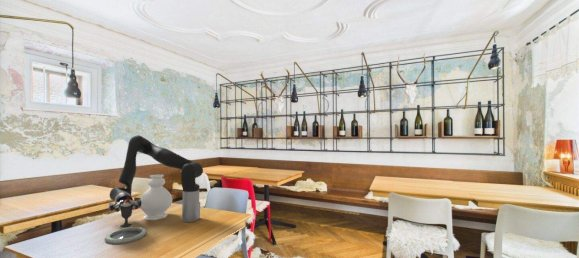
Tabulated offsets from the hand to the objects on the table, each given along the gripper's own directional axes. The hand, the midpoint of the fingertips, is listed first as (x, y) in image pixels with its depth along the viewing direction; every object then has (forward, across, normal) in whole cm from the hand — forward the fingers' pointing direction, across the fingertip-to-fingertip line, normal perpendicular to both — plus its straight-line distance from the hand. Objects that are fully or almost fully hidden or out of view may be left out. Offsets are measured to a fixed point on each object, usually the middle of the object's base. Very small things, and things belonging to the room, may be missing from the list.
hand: (127, 208), depth 119 cm
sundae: (-2, 0, +9) cm, 9 cm away
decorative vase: (-26, +18, +15) cm, 34 cm away
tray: (-2, 0, +14) cm, 14 cm away
